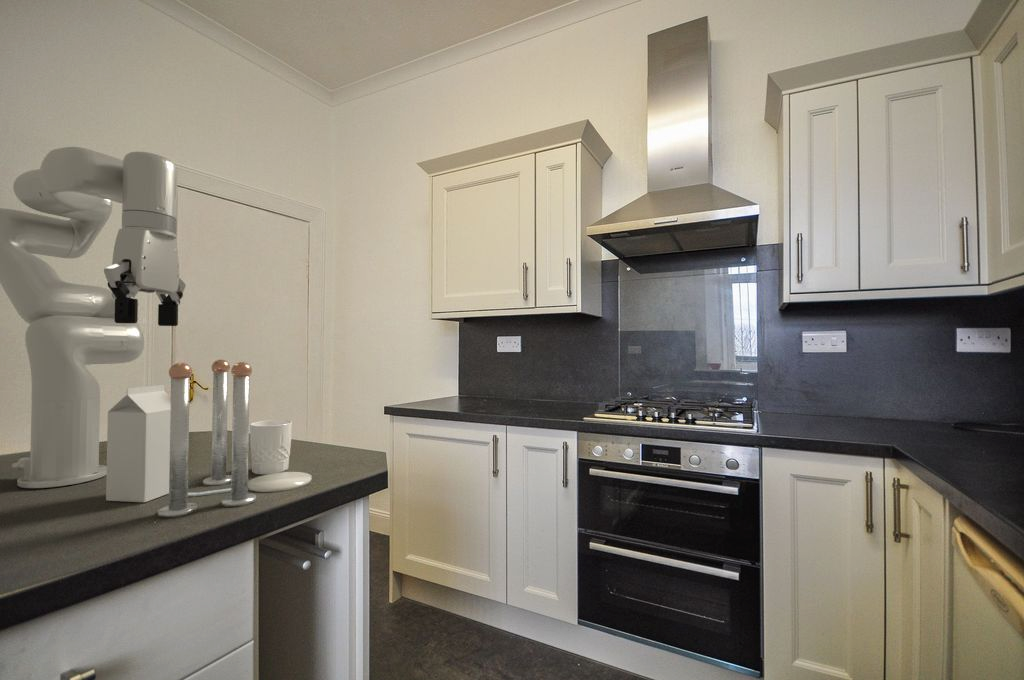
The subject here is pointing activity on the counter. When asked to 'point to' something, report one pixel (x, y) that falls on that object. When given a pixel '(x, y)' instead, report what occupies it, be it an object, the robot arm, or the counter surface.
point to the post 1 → (179, 444)
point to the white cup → (270, 446)
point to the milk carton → (139, 445)
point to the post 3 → (240, 438)
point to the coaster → (279, 481)
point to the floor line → (209, 492)
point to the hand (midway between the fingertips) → (148, 324)
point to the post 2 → (219, 425)
